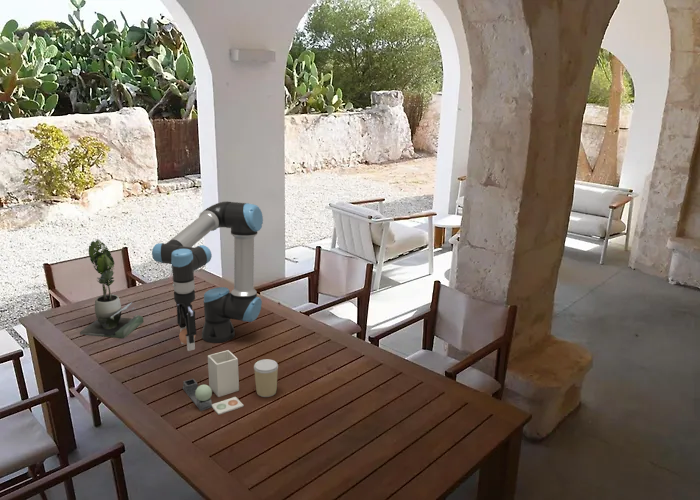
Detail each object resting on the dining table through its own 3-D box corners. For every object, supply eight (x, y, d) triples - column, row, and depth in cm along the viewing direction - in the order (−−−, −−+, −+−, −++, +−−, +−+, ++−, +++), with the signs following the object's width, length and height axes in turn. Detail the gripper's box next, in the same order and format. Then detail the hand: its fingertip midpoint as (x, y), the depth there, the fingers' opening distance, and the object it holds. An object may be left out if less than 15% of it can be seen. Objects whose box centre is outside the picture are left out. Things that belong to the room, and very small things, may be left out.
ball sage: (208, 393, 218) (207, 379, 216) (214, 401, 213) (214, 386, 212) (193, 398, 215) (192, 384, 213) (199, 406, 210) (198, 391, 208)
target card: (235, 397, 220) (235, 396, 220) (243, 406, 215) (243, 404, 215) (211, 406, 215) (210, 404, 215) (218, 414, 209) (218, 413, 209)
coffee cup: (282, 388, 228) (282, 361, 224) (271, 400, 220) (271, 372, 216) (261, 383, 231) (260, 357, 227) (250, 395, 222) (249, 367, 219)
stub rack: (194, 384, 229) (193, 377, 228) (213, 406, 214) (212, 399, 213) (182, 388, 226) (181, 381, 225) (200, 411, 212) (200, 403, 211)
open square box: (229, 380, 232) (228, 349, 228) (238, 390, 226) (237, 358, 221) (209, 387, 227) (207, 355, 223) (218, 397, 221) (216, 364, 216)
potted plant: (143, 321, 283) (135, 234, 270) (123, 338, 265) (114, 246, 252) (102, 318, 286) (92, 231, 273) (80, 334, 268) (68, 242, 255)
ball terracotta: (192, 338, 224) (191, 324, 222) (198, 344, 219) (197, 330, 217) (177, 342, 220) (176, 327, 218) (182, 348, 216) (181, 333, 214)
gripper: (165, 284, 218) (170, 339, 225) (183, 300, 204) (187, 359, 211) (184, 280, 222) (188, 334, 229) (203, 296, 208) (206, 353, 215)
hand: (188, 346), depth 220 cm, fingers closed on ball terracotta, 6 cm apart
